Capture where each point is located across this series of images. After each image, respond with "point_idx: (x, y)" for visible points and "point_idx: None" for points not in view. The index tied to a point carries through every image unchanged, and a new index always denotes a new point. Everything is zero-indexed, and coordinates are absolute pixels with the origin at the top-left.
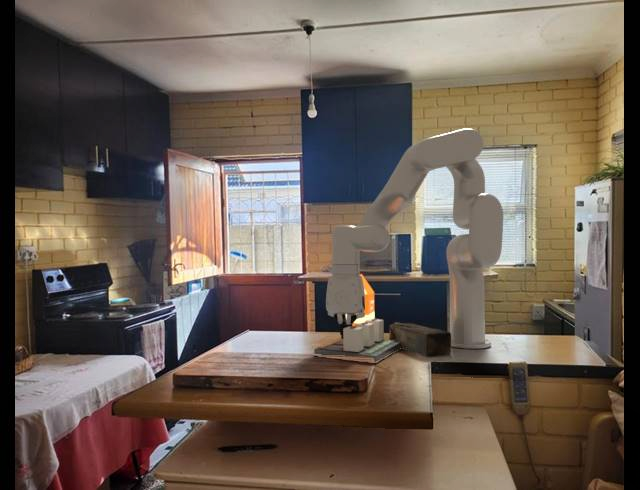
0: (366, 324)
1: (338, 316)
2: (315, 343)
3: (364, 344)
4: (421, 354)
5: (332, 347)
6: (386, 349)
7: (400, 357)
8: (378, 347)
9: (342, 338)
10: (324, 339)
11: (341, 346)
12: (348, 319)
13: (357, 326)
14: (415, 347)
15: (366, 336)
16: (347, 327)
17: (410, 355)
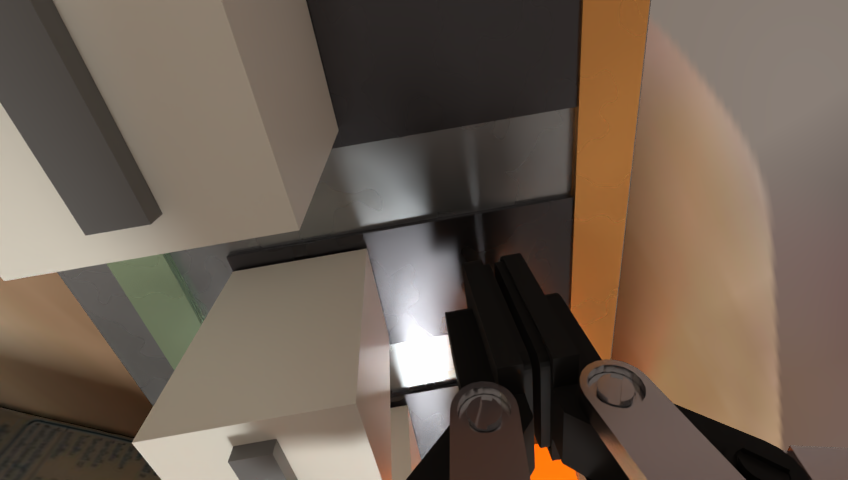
0: (224, 469)
1: (699, 458)
2: (769, 295)
3: (273, 271)
4: (2, 411)
5: (498, 43)
6: (80, 294)
7: (57, 311)
8: (148, 288)
9: (506, 255)
10: (743, 393)
11: (463, 167)
12: (487, 455)
13: (320, 387)
14: (53, 457)
15: (227, 324)
16: (231, 108)
17: (65, 380)
